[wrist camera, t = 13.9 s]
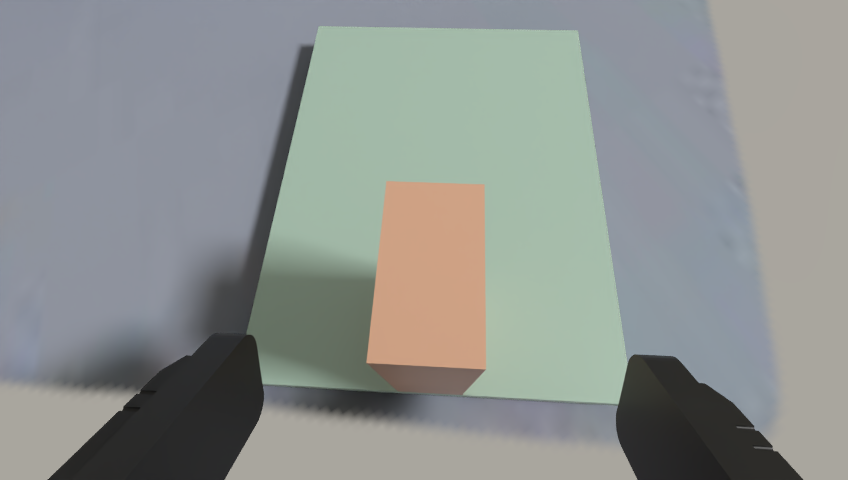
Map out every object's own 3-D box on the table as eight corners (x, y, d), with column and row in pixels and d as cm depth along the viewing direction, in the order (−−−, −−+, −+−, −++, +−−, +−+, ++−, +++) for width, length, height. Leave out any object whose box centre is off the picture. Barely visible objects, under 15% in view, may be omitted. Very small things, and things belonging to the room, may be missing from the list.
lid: (612, 406, 14) (812, 386, 6) (255, 386, 14) (68, 347, 7) (567, 58, 21) (640, -143, 13) (326, 53, 21) (270, -142, 14)
